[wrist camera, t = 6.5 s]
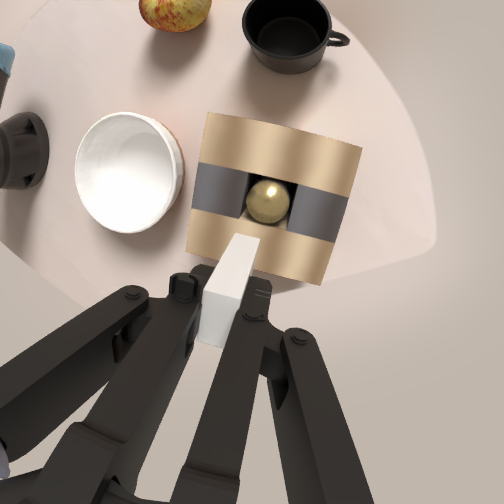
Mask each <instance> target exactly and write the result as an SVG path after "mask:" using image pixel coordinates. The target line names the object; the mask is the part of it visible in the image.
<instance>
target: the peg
mask: <svg viewBox="0 0 504 504" xmlns="http://www.w3.org/2000/svg"><path fill="white" fill-rule="evenodd" d="M290 190H291V184H290V182H289V181H285V180H281V179H276V178H272V177H268V176H264V175H261V177H260V178H259V179H258V180H257V182H256V183H255V184H254V186H253V187H252V188H251V190H250V191H249V193H248V195H247V199H246V205H247V209H248V211H249V213H250V215H251V216H252V217H253V218H254V219H256V220H257V221H259V222H262V223H275V222H277V221H279V220H281V219H282V218H283V217H284V216H285V215H286V213H287V211H288V208H289V201H290Z"/></svg>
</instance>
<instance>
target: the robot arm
mask: <svg viewBox="0 0 504 504" xmlns="http://www.w3.org/2000/svg"><path fill="white" fill-rule="evenodd" d="M14 57H15V52H14V49H13V48H12V47H10V46H8V45H5V44H1V43H0V108H1V104H2V100H3V96H4V92H5V88H6V85H7V82H8V78H9V77H10V75H11V74H10V71H11V68H12V64H13V61H14ZM48 156H49V141H48V135H47V131H46V128H45V125H44V123H43V122H42V120H41V119H40V117H39V116H37V115H36V114H34V113H31V112H26V113H19V114H16V115H14V116H12V117H10V118H9V119H7V120H5V121H3V122H2V123H0V189H1V188H3V189H16V190H23V189H27V188H29V187H32V186H34V185H36V184H37V183H38V182H39V181H40V180H41V178H42V176H43V175H44V172H45V170H46V167H47V162H48ZM259 243H260V239H259V238H255V237H251V236H246V235H242V234H238V233H235V234H234V236H233V238H232V239H231V241H230V243H229V245H228V247H227V248H226V250H225V252H224V254H223V255H222V257H221V259H220V261H219V262H218V264H217V266H216V268H214V267H210V266H207V265H203V264H200V265H198V266H196V267H194V268H193V269H192V271H191V272H190V273H176V274H173V275H172V276H170V283H169V294H168V296H167V297H166V298H152V297H149V293H148V291H147V290H146V289H144V288H143V287H140V286H136V285H129V286H125V287H122V288H120V289H119V290H117V291H116V292H114V293H112V294H111V295H109V296H108V297H106V298H104V299H103V300H101V301H100V302H98V303H96V304H95V305H93V306H92V307H90V308H89V309H87V310H85V311H84V312H82V313H81V314H79V315H78V316H76V317H75V318H73V319H71V320H70V321H68V322H67V323H65V324H64V325H62V326H61V327H59V328H58V329H56V330H55V331H53V332H52V333H50V334H48V335H47V336H45V337H44V338H43V339H41V340H39V341H38V342H36V343H35V344H34V345H32V346H31V347H29V348H28V349H26V350H25V351H23V352H22V353H20V354H19V355H17V356H16V357H14V358H13V359H12V360H10V361H9V362H7V363H6V364H4V365H3V366H1V367H0V478H3V480H0V504H236V501H237V497H238V492H239V486H240V479H239V475H240V469H241V465H242V460H243V455H244V450H245V445H246V439H247V434H248V430H249V424H250V419H251V414H252V409H253V403H254V398H255V393H256V387H257V381H258V376H259V374H261V375H263V376H265V377H267V385H268V390H269V396H270V402H271V407H272V413H273V419H274V424H275V430H276V436H277V441H278V447H279V452H280V458H281V464H282V469H283V474H284V480H285V485H286V491H287V496H288V502H289V504H374V501H373V498H372V495H371V492H370V489H369V486H368V483H367V481H366V477H365V474H364V471H363V468H362V465H361V463H360V460H359V457H358V454H357V451H356V448H355V446H354V443H353V440H352V437H351V434H350V431H349V428H348V426H347V423H346V420H345V417H344V414H343V412H342V409H341V406H340V403H339V401H338V398H337V395H336V392H335V390H334V387H333V384H332V382H331V379H330V377H329V374H328V371H327V368H326V366H325V363H324V361H323V358H322V355H321V352H320V350H319V347H318V345H317V342H316V339H315V338H314V336H313V335H312V334H311V333H309V332H308V331H306V330H304V329H301V328H289V329H287V330H286V331H285V332H283V331H281V330H279V329H277V328H275V327H274V326H273V325H272V324H271V323H270V322H269V320H268V310H269V304H270V298H271V292H272V285H271V283H270V281H269V280H265V279H261V278H257V277H253V276H252V273H253V269H254V264H255V260H256V256H257V252H258V247H259ZM196 335H197V341H199V342H202V343H206V344H209V345H213V346H216V347H220V348H224V349H223V352H222V356H221V358H220V362H219V365H218V367H217V370H216V374H215V377H214V379H213V382H212V385H211V388H210V391H209V394H208V397H207V400H206V403H205V406H204V409H203V412H202V415H201V418H200V421H199V424H198V427H197V430H196V433H195V436H194V439H193V442H192V445H191V447H190V450H189V453H188V456H187V459H186V462H185V464H184V465H183V466H182V469H181V471H180V474H179V476H178V479H177V482H176V485H175V488H174V491H173V494H172V497H171V499H170V502H161V501H153V500H146V499H141V498H138V497H136V496H135V495H134V493H135V490H136V485H137V478H138V475H139V472H140V470H141V467H142V465H143V463H144V460H145V458H146V456H147V453H148V451H149V449H150V446H151V444H152V442H153V439H154V437H155V434H156V432H157V430H158V428H159V425H160V423H161V421H162V418H163V416H164V414H165V412H166V409H167V407H168V405H169V402H170V400H171V398H172V395H173V393H174V391H175V388H176V386H177V384H178V382H179V379H180V377H181V375H182V373H183V370H184V368H185V366H186V364H187V361H188V359H189V357H190V355H191V352H192V350H193V346H194V340H195V337H196ZM109 380H110V381H109ZM108 381H109V382H108ZM107 382H108V384H107V385H106V387H105V388H104V390H103V391H102V393H101V394H100V396H99V398H98V399H97V401H96V402H95V404H94V406H93V407H92V409H91V410H90V412H89V414H88V415H87V417H86V418H85V419H84V421H82V422H74V423H72V424H71V425H70V426H69V427H68V429H67V430H66V432H65V433H64V435H63V436H62V438H61V439H60V441H59V443H58V444H57V446H56V447H55V449H54V451H53V452H52V454H51V456H50V457H49V459H48V461H47V462H46V464H45V466H44V467H43V468H41V469H38V470H35V471H31V472H28V473H25V474H21V475H18V476H14V477H11V478H8V477H9V475H10V469H9V463H10V462H13V461H15V460H17V459H19V458H20V457H22V456H24V455H25V454H27V453H28V452H29V451H31V450H32V449H33V448H34V447H35V446H37V445H38V444H39V443H40V442H41V441H42V440H43V439H45V438H46V437H47V436H48V435H49V434H50V433H51V432H52V431H53V430H55V429H56V428H57V427H58V426H59V425H60V424H61V423H62V422H64V421H65V420H66V419H67V418H68V417H69V416H70V415H71V414H72V413H74V412H75V411H76V410H77V409H78V408H79V407H80V406H81V405H82V404H83V403H85V402H86V401H87V400H88V399H89V398H90V397H91V396H93V395H94V394H95V393H96V392H97V391H98V390H99V389H100V388H101V387H103V386H104V385H105V384H106V383H107ZM5 478H7V479H5Z"/></svg>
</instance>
